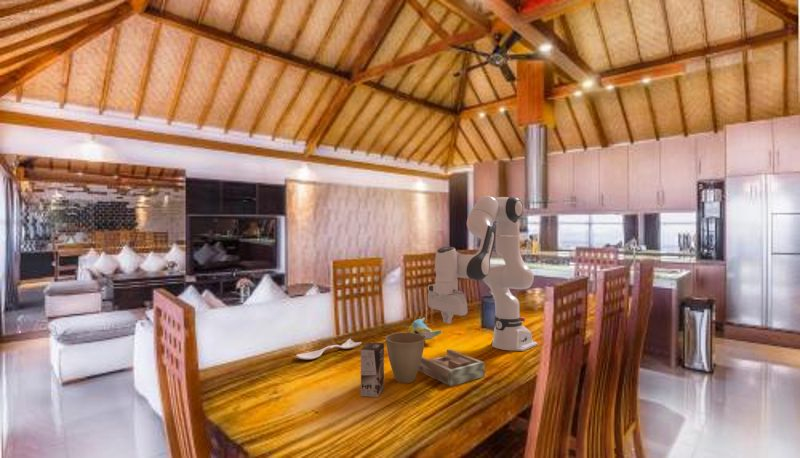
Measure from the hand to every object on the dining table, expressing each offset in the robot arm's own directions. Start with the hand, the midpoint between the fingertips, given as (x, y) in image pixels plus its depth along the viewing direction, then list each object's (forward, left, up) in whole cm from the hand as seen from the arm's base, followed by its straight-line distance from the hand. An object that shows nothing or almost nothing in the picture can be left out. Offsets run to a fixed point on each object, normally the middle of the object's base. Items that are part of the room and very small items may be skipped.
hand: (447, 322), depth 164 cm
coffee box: (+34, 0, -20) cm, 40 cm away
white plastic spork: (+29, -50, -20) cm, 61 cm away
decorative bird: (-24, -44, -20) cm, 54 cm away
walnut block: (+1, +8, -17) cm, 19 cm away
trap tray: (0, +1, -19) cm, 19 cm away
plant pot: (+18, -3, -20) cm, 27 cm away
